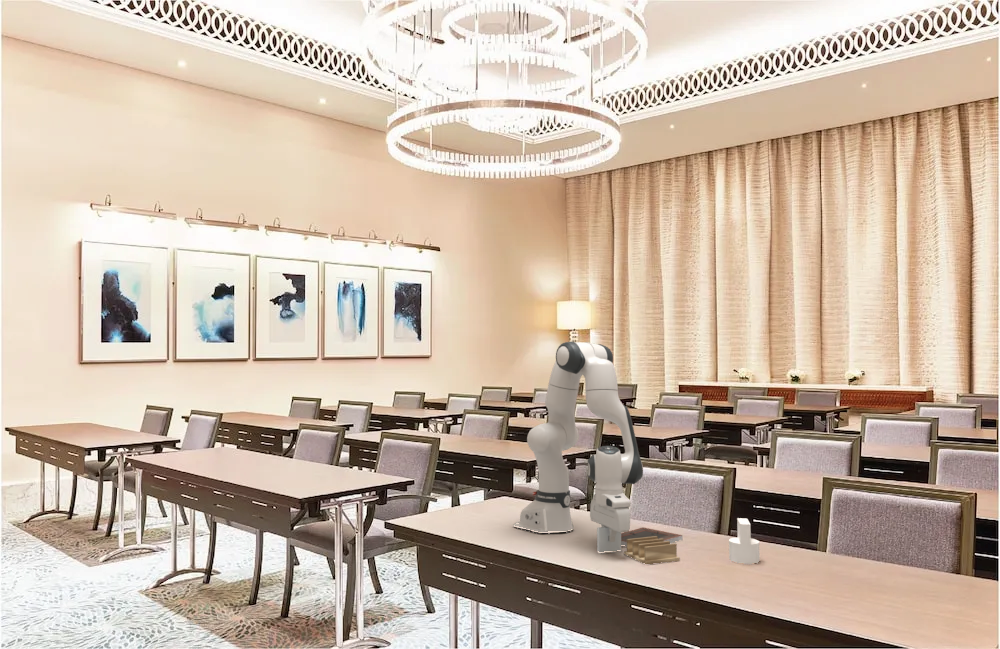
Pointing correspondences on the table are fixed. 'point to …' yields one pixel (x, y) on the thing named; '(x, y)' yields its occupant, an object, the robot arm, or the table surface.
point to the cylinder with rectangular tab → (744, 544)
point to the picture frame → (649, 535)
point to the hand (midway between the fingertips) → (609, 540)
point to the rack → (651, 550)
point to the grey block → (603, 540)
